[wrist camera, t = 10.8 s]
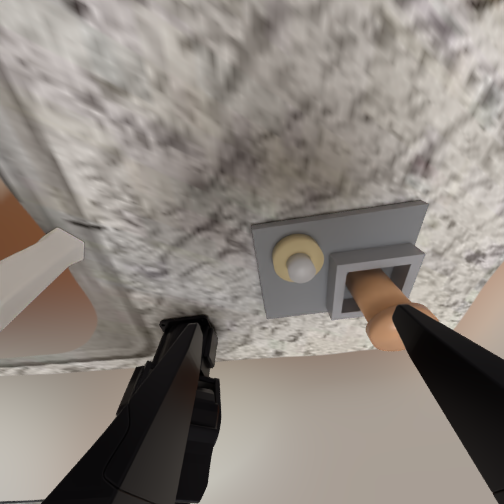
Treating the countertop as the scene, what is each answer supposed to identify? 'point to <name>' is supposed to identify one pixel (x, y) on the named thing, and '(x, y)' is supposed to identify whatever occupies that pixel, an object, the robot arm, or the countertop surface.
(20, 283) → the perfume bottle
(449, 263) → the countertop surface
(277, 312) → the housing
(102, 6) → the countertop surface
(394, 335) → the tan flared peg
